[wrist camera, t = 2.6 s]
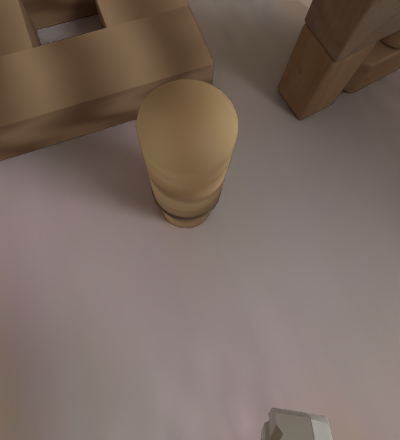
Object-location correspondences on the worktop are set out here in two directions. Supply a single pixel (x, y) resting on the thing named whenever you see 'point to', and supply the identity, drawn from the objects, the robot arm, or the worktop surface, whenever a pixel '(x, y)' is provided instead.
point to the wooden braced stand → (341, 52)
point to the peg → (187, 147)
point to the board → (89, 66)
